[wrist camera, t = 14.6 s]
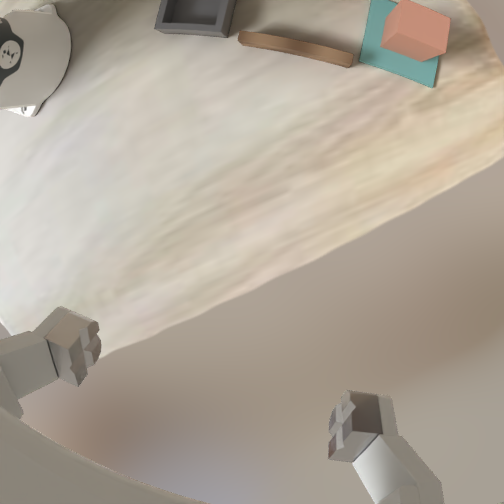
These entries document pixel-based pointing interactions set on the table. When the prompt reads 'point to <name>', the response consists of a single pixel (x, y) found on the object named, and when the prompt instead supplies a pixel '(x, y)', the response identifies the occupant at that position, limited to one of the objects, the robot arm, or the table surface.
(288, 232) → the table surface
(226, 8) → the tray
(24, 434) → the robot arm
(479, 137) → the table surface
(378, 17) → the mat
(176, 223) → the table surface
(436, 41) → the block
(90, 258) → the table surface
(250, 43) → the parallel wooden rails
